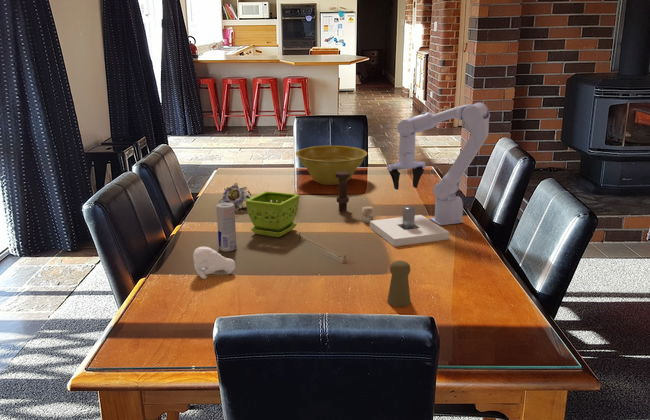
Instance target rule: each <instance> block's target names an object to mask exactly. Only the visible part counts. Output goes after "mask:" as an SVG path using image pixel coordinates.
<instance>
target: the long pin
mask: <svg viewBox="0 0 650 420" xmlns="http://www.w3.org/2000/svg"><path fill="white" fill-rule="evenodd" d="M415 210H416V207H414V206H403V207H402V217H403V224H402V229H404V230H409V229H414V220H415V215H416V211H415Z"/></svg>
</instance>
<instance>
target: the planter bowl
mask: <svg viewBox="0 0 650 420" xmlns="http://www.w3.org/2000/svg"><path fill="white" fill-rule="evenodd" d="M295 155H296V156H297V157H298V160H299V162H300V164H301V165H302V166H303V167H304V168H306V170H307V172H308V173H309V175H310V176H311V179H312V180H313V181H315V182H316V183H318V184H321V185H329V186H330V185H331V186H334V185H335V186H336V185H339V181H338V178H336V172H339V171H346V172H349V173H350V177H349V178H347V182H348V181H349V180H351V178H352V177H353V175H354V174H355V172H356V169H358V167H360V166H362V163H363V162H364V159H365V157H367V156H368V152H367V151H366V150H365V149H362V148H360V147H359V148H358V147H354V146H345V145H316V146H309V147H308V146H307V147H305V148H301V149H299V150H297V151H296V152H295Z"/></svg>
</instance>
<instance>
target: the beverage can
mask: <svg viewBox="0 0 650 420" xmlns="http://www.w3.org/2000/svg"><path fill="white" fill-rule="evenodd" d="M235 211H236V208H235V209H234V204H233V203H228V202H226V203H225V202H224V203H219V202H218V204H216V211H215V212H216V225H217V239H218V240H217V241H218V250H220V251H222V252H226V253H227V252H233V251H234V250H236V249H237V232H236V230H237V229H236V214H235Z"/></svg>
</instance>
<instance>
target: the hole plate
mask: <svg viewBox="0 0 650 420" xmlns="http://www.w3.org/2000/svg"><path fill="white" fill-rule="evenodd" d="M402 224H403V216H399V217H393V218H392V217H389V218H384V219H375V220H374V219H373V221H370V223H369V228H370V229H371V230H372V231H374V232H375V233H376V234H378V235H379V236H380V237H382V238H383V239H384V240H385V241H387V243H389V244H390V245H391V246H393V247H401V246H408V245H415V244H416V245H417V244H421V243H430V242H439V241H446V240H450V231H449V230H447V229H445V228H443V227H442V226H441V225H439V224H437V223H435V222H434V221H432V220H431V219H430V218H427V217H425V216H424V215H422V214H415V220H414V229H409V230H404V229H402Z"/></svg>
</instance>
